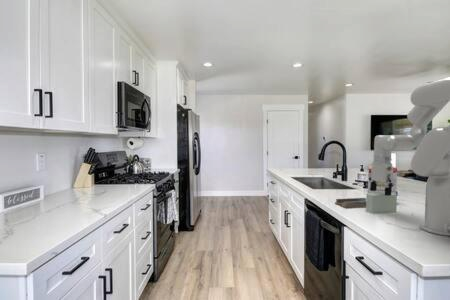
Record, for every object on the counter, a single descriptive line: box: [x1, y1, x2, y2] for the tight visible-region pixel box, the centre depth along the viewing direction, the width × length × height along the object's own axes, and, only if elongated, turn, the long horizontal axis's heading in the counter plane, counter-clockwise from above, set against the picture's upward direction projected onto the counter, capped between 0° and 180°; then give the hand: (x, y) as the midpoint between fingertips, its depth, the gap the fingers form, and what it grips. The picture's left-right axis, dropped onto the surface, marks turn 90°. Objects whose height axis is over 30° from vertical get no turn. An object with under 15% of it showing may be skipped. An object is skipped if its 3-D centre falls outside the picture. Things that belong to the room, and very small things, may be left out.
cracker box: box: [367, 165, 398, 194], centre depth 148 cm, size 14×6×21 cm, turn 62°
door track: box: [334, 197, 366, 209], centre depth 141 cm, size 10×18×3 cm, turn 100°
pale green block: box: [365, 193, 398, 214], centre depth 129 cm, size 4×14×9 cm, turn 100°
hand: (380, 192), depth 130 cm, fingers open, 9 cm apart
